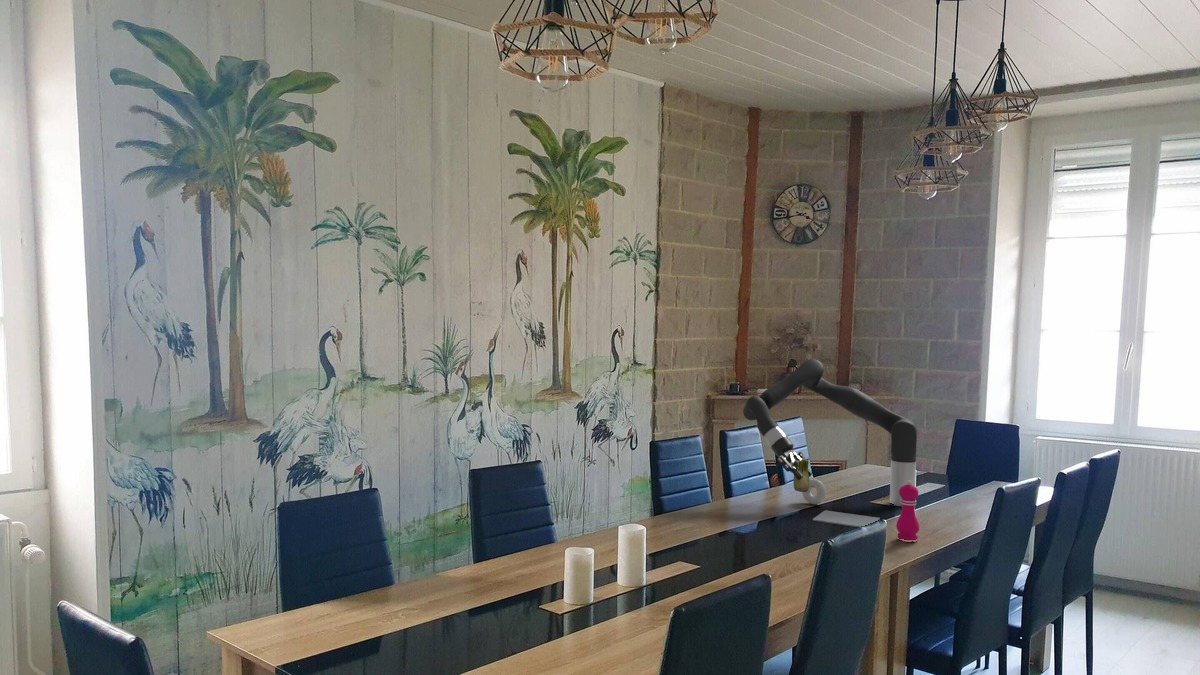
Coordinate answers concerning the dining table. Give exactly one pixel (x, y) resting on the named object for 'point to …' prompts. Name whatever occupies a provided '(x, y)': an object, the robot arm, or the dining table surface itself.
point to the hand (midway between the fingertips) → (805, 477)
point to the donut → (820, 492)
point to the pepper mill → (908, 513)
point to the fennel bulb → (803, 483)
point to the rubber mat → (844, 519)
